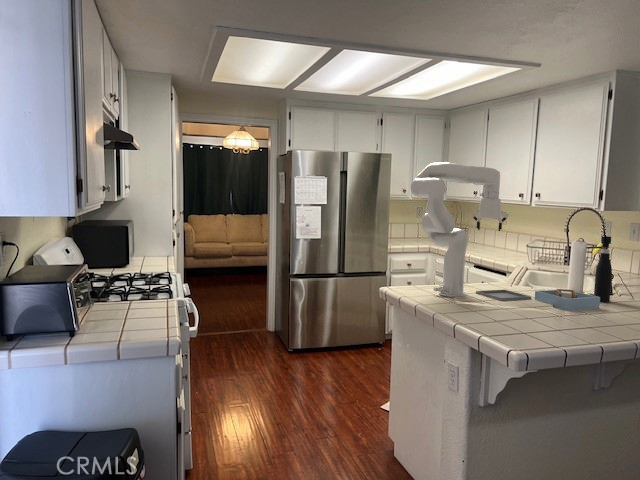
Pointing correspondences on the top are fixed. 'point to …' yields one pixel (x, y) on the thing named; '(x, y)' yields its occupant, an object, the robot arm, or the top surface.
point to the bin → (568, 300)
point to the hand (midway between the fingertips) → (488, 230)
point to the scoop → (574, 295)
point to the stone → (566, 294)
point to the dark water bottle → (603, 273)
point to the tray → (503, 295)
